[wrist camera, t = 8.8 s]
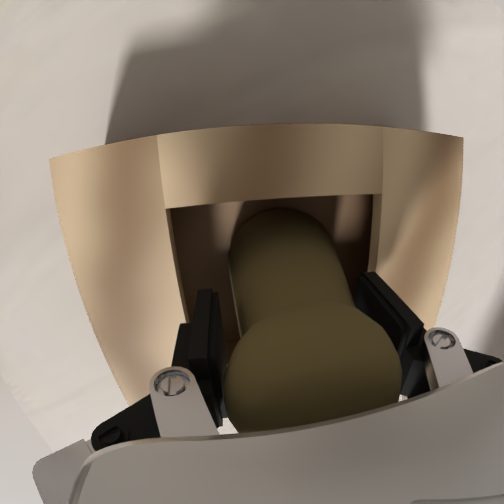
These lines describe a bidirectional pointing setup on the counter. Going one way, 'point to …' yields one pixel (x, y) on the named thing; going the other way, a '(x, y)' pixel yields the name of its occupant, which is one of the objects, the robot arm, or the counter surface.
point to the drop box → (240, 211)
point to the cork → (300, 331)
